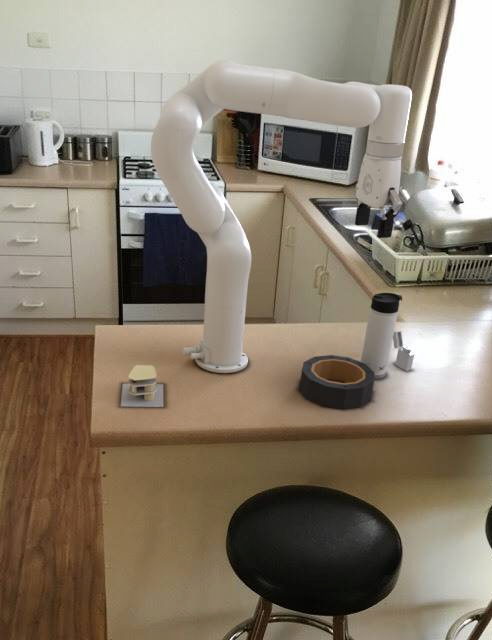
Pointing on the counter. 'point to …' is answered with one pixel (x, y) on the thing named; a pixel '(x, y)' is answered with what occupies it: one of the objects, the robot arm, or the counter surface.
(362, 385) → the tape roll
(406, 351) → the lighter
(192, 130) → the robot arm
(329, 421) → the counter surface
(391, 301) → the travel mug
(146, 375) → the stacked layers on plate
